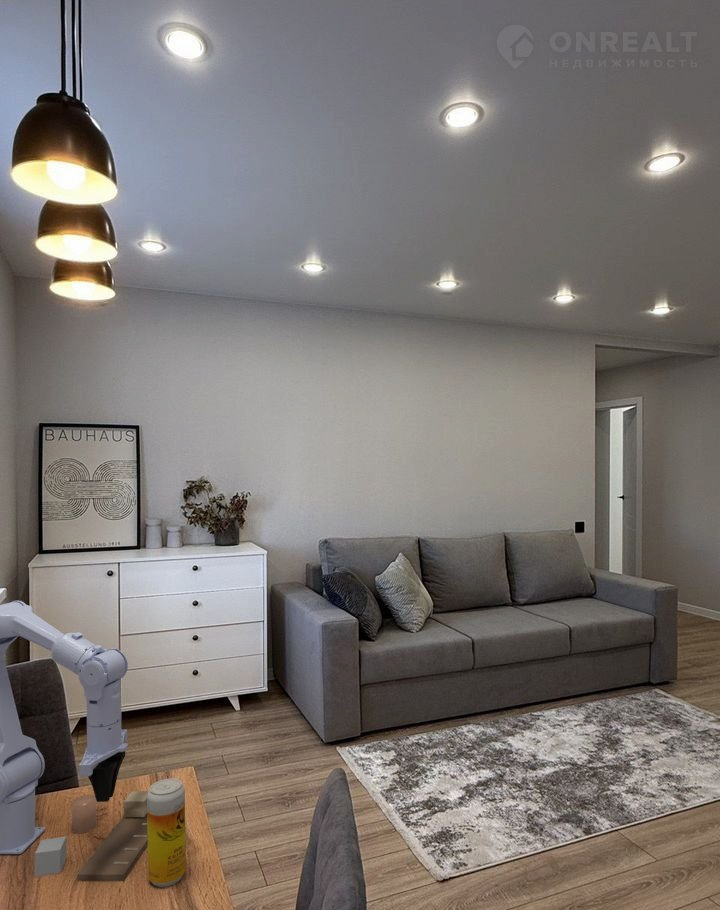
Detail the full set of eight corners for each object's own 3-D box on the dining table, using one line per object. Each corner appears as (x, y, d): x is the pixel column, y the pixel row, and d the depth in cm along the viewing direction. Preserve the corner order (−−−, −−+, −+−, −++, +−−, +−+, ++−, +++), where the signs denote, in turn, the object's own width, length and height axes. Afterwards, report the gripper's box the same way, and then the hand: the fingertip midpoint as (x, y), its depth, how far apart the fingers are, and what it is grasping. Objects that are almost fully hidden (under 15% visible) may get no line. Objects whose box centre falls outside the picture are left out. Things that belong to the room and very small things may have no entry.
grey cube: (34, 877, 103) (34, 853, 104) (41, 863, 107) (41, 839, 108) (60, 873, 104) (60, 849, 105) (66, 859, 108) (66, 836, 108)
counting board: (77, 880, 102) (77, 873, 102) (132, 810, 124) (132, 804, 124) (123, 880, 102) (123, 874, 102) (170, 810, 124) (170, 804, 124)
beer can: (174, 890, 99) (173, 796, 100) (140, 886, 100) (139, 793, 101) (192, 867, 105) (190, 778, 105) (160, 864, 106) (158, 776, 107)
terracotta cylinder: (67, 833, 116) (66, 807, 116) (78, 821, 121) (78, 795, 121) (89, 833, 116) (89, 806, 116) (100, 821, 120) (100, 795, 121)
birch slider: (124, 817, 119) (123, 801, 119) (132, 806, 123) (132, 791, 123) (152, 817, 119) (152, 801, 119) (160, 806, 123) (160, 791, 123)
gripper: (107, 737, 102) (108, 820, 101) (142, 705, 116) (143, 778, 116) (66, 737, 102) (66, 821, 101) (106, 706, 116) (107, 778, 116)
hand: (104, 798), depth 108 cm, fingers closed
